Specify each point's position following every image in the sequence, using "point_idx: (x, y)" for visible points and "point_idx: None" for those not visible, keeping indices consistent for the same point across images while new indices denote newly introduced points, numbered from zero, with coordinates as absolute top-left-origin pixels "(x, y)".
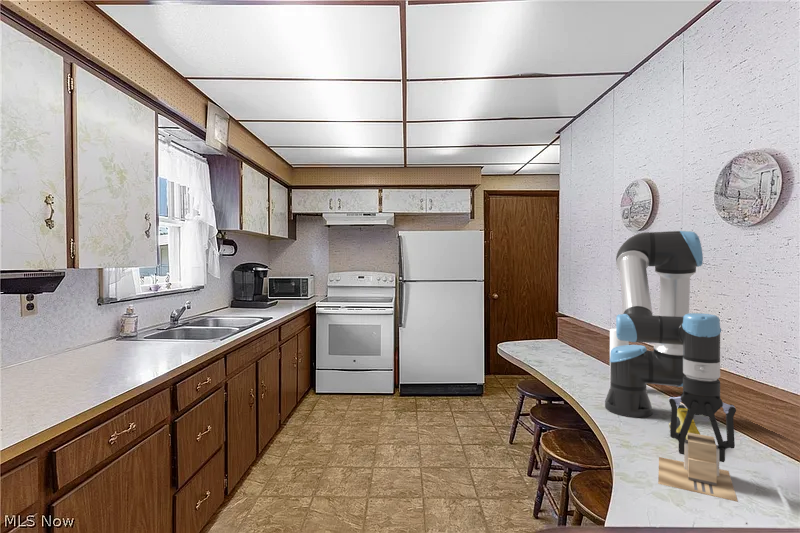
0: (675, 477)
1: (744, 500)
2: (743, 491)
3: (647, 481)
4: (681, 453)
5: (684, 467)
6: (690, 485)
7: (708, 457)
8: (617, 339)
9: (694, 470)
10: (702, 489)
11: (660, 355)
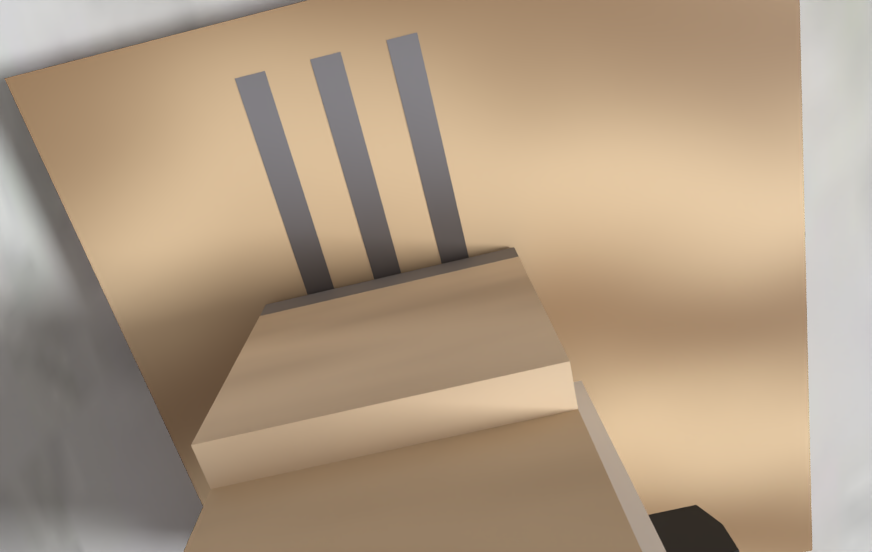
0: (634, 207)
1: (67, 292)
2: (129, 451)
3: (866, 29)
4: (677, 518)
5: (585, 392)
6: (473, 120)
7: (298, 516)
8: None
9: (469, 305)
10: (352, 106)
11: None
